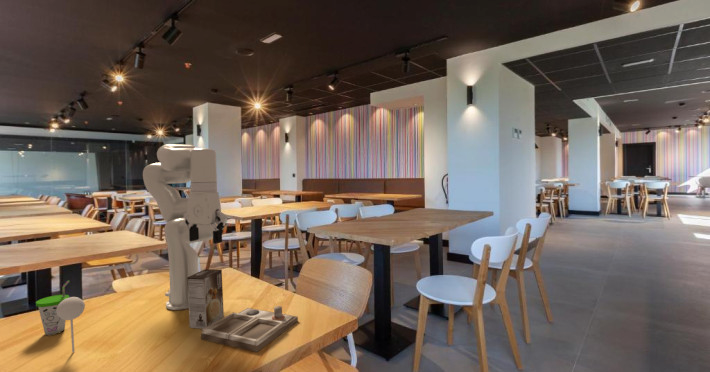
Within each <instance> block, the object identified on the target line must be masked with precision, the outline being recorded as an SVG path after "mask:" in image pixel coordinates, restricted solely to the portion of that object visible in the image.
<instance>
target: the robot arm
mask: <svg viewBox="0 0 710 372" xmlns="http://www.w3.org/2000/svg"><path fill="white" fill-rule="evenodd" d="M156 156H157V160H158V161H159V162H155V163H150V164H148V165H146V166H145V167H144V168H143V171H142V179H143V184H144V186H145V188H146V190H147V191H148V193H149V194H150V195H151V196H152V198H153V199H154V200H155V202H156V204H157V206H158V209H159V212H160V214H161V216H162V218H163V221H165V222H166V223H165V225H164V230H163V231H164V237H165V240H166V241H165V242H166V246H167V253H168V255H167V256H168V270H169V271H168V274H169V289H168V292H165V293H164V296H165V297H168V300H167V301H166V303H165V308H166V309H168V310H171V311H182V310H189V303H188V282H187V277H189V276H191V275H194V274H196V273H198V272H199V256H198V253H197V251H196V250H195V248H193V247H192V246H191V244H193V243H194V244H195V243H197V242H198V243H200V242H205V241H210V240H212V243H213V244H215V245H216V244H219V243H222V242H223V230H224V229H225V226H227V221H228V219H229V216H228V215H226V214H225V213H223V212H222V207H221V200H220V198H221V197H220V195H219V192H218V179H217V153H216V151H215V149H212V148H204V147H203V148H200V147H197V146H195V145H193V144H174V143H168V144H164V145H162V146H160V147H159V148H158V150H157V152H156ZM187 183H190V185H189V187H190V192H188V197H187V198H185V197H181V195H180V193H179V191H178V190H177V189H176V188H175V187H173V186H171V185H172V184H187ZM169 184H171V185H169Z"/></svg>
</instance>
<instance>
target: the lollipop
mask: <svg viewBox="0 0 710 372" xmlns="http://www.w3.org/2000/svg"><path fill="white" fill-rule="evenodd" d="M85 308H86V304H85V301H84V300H83V299H81V298H80V297H77V296H69V298H66V299H64V300H63V301H62V302H60V304H59V305H58V307H57V309H56V313H57V315H58V316H59V318H61V319H63V320H66V321H70V334H71V335H70V336H71V351H72V352H73V353H75V337H74V324H73V323H74V321H73V320H75V319H77V318H79V317H80V316H81V315H82V314H83V313H84V311H85ZM72 352H71V353H72Z"/></svg>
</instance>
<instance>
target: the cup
mask: <svg viewBox="0 0 710 372" xmlns="http://www.w3.org/2000/svg"><path fill="white" fill-rule="evenodd" d="M69 283H70V280H66V282H65V283H64V284H63V285H62V287H61V288H62V291H61V292H62V294H55V295H51V296H47V297H46V296H45V297H43V298H40V299H38V300H37V301H35V307H38V311H39V316H40V320H41V323H42V327H43V331H44V335H45V334H46V335H45V336H47V335H50V336H53V335H52V334H56V333H59V332H61V331H63V330H64V331H65V330H66V328H65V327H66V322H67V320H63V319H61V318H59V316H58V315H57V313H56V309H57V307H58V305H59V304H60V302H62V301H63V300H64V299H66V298H69V297H70V295H69V294H66V292H65V291H66V290H65V287H66V286H67V285H68V284H69ZM64 331H63V332H64ZM61 333H62V332H61ZM59 334H60V333H59ZM56 335H57V334H56Z"/></svg>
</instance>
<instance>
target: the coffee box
mask: <svg viewBox="0 0 710 372" xmlns="http://www.w3.org/2000/svg"><path fill="white" fill-rule="evenodd" d="M222 273H223V271H222V269H212V268H211V269H209V268H206V269H205V268H204V269H203V270H200V271H198V273H196V274H194V275H191V276H189V277H187V282H188V303H189V308H188V316H189V317H188V319H189V321H188V322H189V328H192V329H199V330H200V329H201V330H202V329H204V328H206V327H207V326H209V325H211V324H213V323H215V322H217V321H219V320H220V319H222V318H224V317H225V315H224V314H225V313H224V292H223V291H224V290H223V274H222Z"/></svg>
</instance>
